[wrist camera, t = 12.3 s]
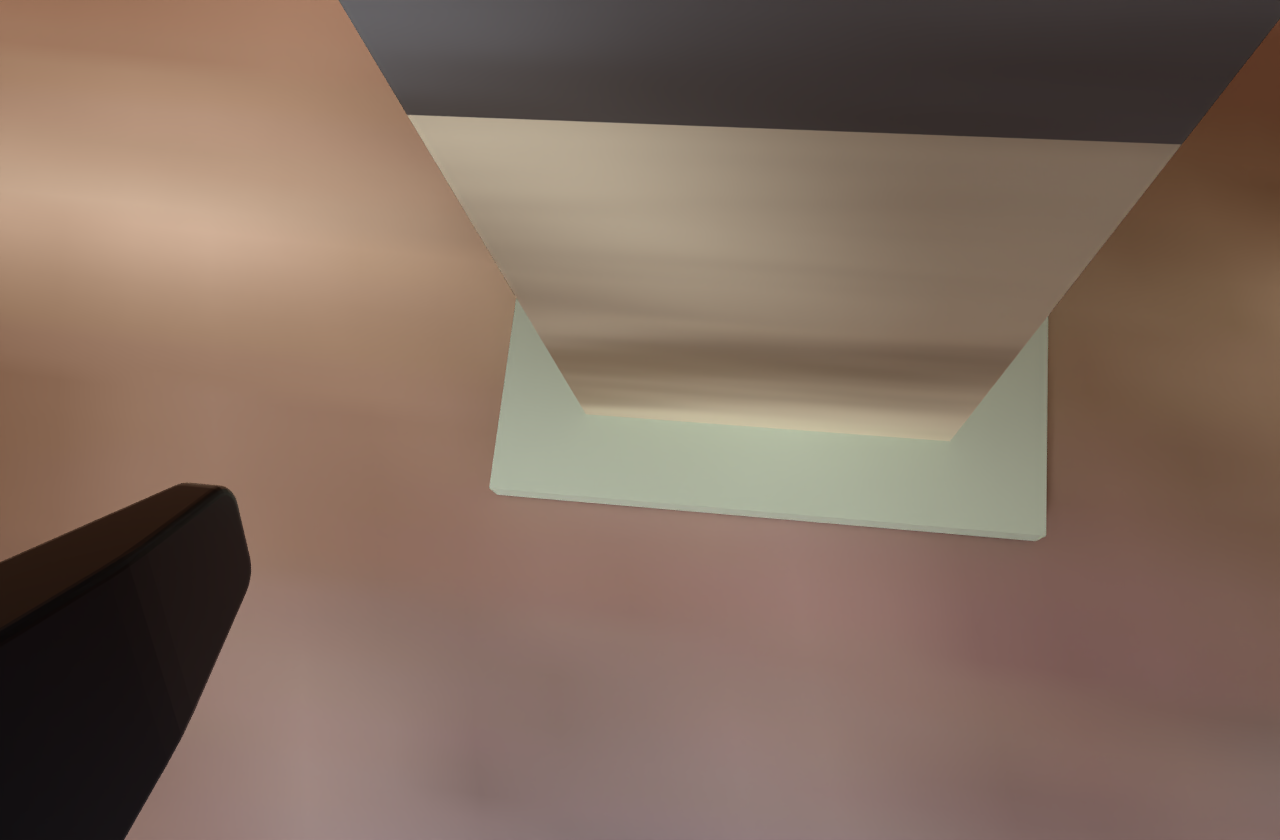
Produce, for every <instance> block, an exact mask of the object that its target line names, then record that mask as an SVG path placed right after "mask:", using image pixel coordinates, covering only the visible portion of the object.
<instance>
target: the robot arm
mask: <svg viewBox="0 0 1280 840" xmlns="http://www.w3.org/2000/svg"><path fill="white" fill-rule="evenodd" d="M250 576H251V561H250V556H249V551H248V547H247V543H246V539H245V534H244V530H243V526H242V521H241V517H240V513H239V508H238V504H237V501H236V498H235V496H234V495H233V493H232V492H231V491H230V490H229V489H228V488H226V487H224V486H219V485H208V484H197V483H181V484H178V485H175V486H173V487H171V488H168V489H166V490H164V491H162V492H159V493H157V494H155V495H152V496H150V497H148V498H146V499H143V500H141V501H139V502H136V503H134V504H132V505H130V506H127V507H125V508H123V509H120V510H118V511H116V512H114V513H111V514H109V515H107V516H104V517H102V518H100V519H98V520H95V521H93V522H91V523H88V524H86V525H84V526H82V527H79V528H77V529H75V530H73V531H70V532H68V533H66V534H63V535H61V536H59V537H57V538H54V539H52V540H50V541H47V542H45V543H43V544H41V545H38V546H36V547H34V548H31V549H29V550H27V551H25V552H22V553H20V554H18V555H15V556H13V557H11V558H9V559H6V560H4V561H2V562H0V840H124V839H125V837H126V835H127V834H128V832H129V830H130V828H131V827H132V825H133V823H134V821H135V820H136V818H137V816H138V814H139V813H140V811H141V809H142V807H143V806H144V804H145V802H146V800H147V799H148V797H149V795H150V793H151V792H152V790H153V788H154V786H155V785H156V783H157V781H158V779H159V778H160V776H161V774H162V772H163V771H164V769H165V767H166V765H167V764H168V762H169V760H170V758H171V756H172V754H173V753H174V751H175V749H176V747H177V745H178V743H179V742H180V740H181V738H182V736H183V734H184V732H185V730H186V728H187V725H188V723H189V721H190V719H191V717H192V715H193V713H194V711H195V708H196V706H197V704H198V701H199V699H200V697H201V695H202V692H203V690H204V688H205V685H206V683H207V681H208V679H209V676H210V674H211V672H212V669H213V667H214V665H215V663H216V660H217V658H218V656H219V653H220V651H221V649H222V647H223V644H224V642H225V640H226V637H227V635H228V633H229V630H230V628H231V626H232V624H233V621H234V619H235V617H236V614H237V612H238V610H239V608H240V605H241V603H242V601H243V598H244V596H245V594H246V591H247V589H248V586H249V582H250Z"/></svg>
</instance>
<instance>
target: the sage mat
mask: <svg viewBox="0 0 1280 840" xmlns="http://www.w3.org/2000/svg"><path fill="white" fill-rule="evenodd" d="M1047 393H1048V316H1047V318H1046V319H1045V320H1044V322H1043V323H1042V324H1041V325H1040V327H1039V328H1038V329H1037V331H1036V332H1035V333H1034V334H1033V336H1032V337H1031V338H1030V339H1029V341H1028V342H1027V343H1026V345H1025V346H1024V347H1023V348H1022V350H1021V351H1020V352H1019V354H1018V355H1017V356H1016V357H1015V359H1014V360H1013V361H1012V363H1011V364H1010V365H1009V366H1008V368H1007V369H1006V370H1005V372H1004V373H1003V374H1002V375H1001V377H1000V378H999V379H998V380H997V382H996V383H995V384H994V386H993V387H992V388H991V389H990V391H989V392H988V393H987V395H986V396H985V397H984V398H983V400H982V401H981V402H980V404H979V405H978V406H977V407H976V409H975V410H974V411H973V413H972V414H971V415H970V416H969V418H968V419H967V420H966V422H965V423H964V424H963V425H962V427H961V428H960V429H959V430H958V432H957V433H956V434H955V436H954V437H953V438H952V439H951V441H938V440H924V439H911V438H897V437H884V436H870V435H857V434H844V433H830V432H817V431H803V430H790V429H776V428H763V427H749V426H736V425H722V424H709V423H696V422H682V421H669V420H655V419H642V418H628V417H615V416H601V415H588V414H586V413H585V412H584V410H583V408H582V407H581V405H580V403H579V402H578V400H577V398H576V397H575V395H574V393H573V392H572V390H571V388H570V387H569V385H568V383H567V382H566V380H565V378H564V377H563V375H562V373H561V372H560V370H559V368H558V367H557V365H556V363H555V362H554V360H553V358H552V357H551V355H550V353H549V351H548V350H547V348H546V346H545V345H544V343H543V341H542V340H541V338H540V336H539V335H538V333H537V331H536V330H535V328H534V326H533V325H532V323H531V321H530V320H529V318H528V316H527V315H526V313H525V311H524V310H523V308H522V306H521V305H520V303H519V301H518V300H517V298H516V303H515V310H514V317H513V324H512V331H511V338H510V345H509V352H508V359H507V366H506V374H505V381H504V388H503V395H502V402H501V409H500V416H499V423H498V430H497V437H496V444H495V451H494V458H493V465H492V472H491V479H490V486H489V488H490V489H491V490H492V491H494V492H495V493H496V494H497V495H507V496H519V497H530V498H542V499H554V500H565V501H577V502H588V503H600V504H612V505H623V506H635V507H646V508H658V509H669V510H681V511H693V512H704V513H716V514H727V515H739V516H750V517H762V518H774V519H785V520H797V521H808V522H820V523H831V524H843V525H855V526H866V527H878V528H889V529H901V530H912V531H924V532H936V533H947V534H959V535H970V536H982V537H994V538H1005V539H1017V540H1028V541H1037V540H1039V539H1041V538H1043V537H1045V536H1046V493H1047Z"/></svg>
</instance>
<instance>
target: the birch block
mask: <svg viewBox="0 0 1280 840" xmlns="http://www.w3.org/2000/svg"><path fill="white" fill-rule="evenodd" d="M339 1H340V3H341V5H342V6H343V8H344V10H345V11H346V13H347V15H348V17H349V18H350V20H351V22H352V23H353V25H354V27H355V28H356V30H357V32H358V33H359V35H360V37H361V38H362V40H363V42H364V43H365V45H366V47H367V48H368V50H369V52H370V53H371V55H372V57H373V58H374V60H375V62H376V63H377V65H378V67H379V68H380V70H381V72H382V73H383V75H384V77H385V78H386V80H387V82H388V84H389V85H390V87H391V89H392V90H393V92H394V94H395V95H396V97H397V99H398V100H399V102H400V104H401V105H402V107H403V109H404V110H405V112H406V114H407V115H408V117H409V119H410V120H411V122H412V124H413V125H414V127H415V129H416V130H417V132H418V134H419V135H420V137H421V139H422V140H423V142H424V144H425V145H426V147H427V149H428V151H429V152H430V154H431V156H432V157H433V159H434V161H435V162H436V164H437V166H438V167H439V169H440V171H441V172H442V174H443V176H444V177H445V179H446V181H447V182H448V184H449V186H450V187H451V189H452V191H453V192H454V194H455V196H456V197H457V199H458V201H459V202H460V204H461V206H462V207H463V209H464V211H465V212H466V214H467V216H468V217H469V219H470V221H471V223H472V224H473V226H474V228H475V229H476V231H477V233H478V234H479V236H480V238H481V239H482V241H483V243H484V244H485V246H486V248H487V249H488V251H489V253H490V254H491V256H492V258H493V259H494V261H495V263H496V264H497V266H498V268H499V269H500V271H501V273H502V274H503V276H504V278H505V279H506V281H507V283H508V284H509V286H510V288H511V290H512V291H513V293H514V295H515V296H516V298H517V300H518V301H519V303H520V305H521V306H522V308H523V310H524V311H525V313H526V315H527V316H528V318H529V320H530V321H531V323H532V325H533V326H534V328H535V330H536V331H537V333H538V335H539V336H540V338H541V340H542V341H543V343H544V345H545V346H546V348H547V350H548V351H549V353H550V355H551V357H552V358H553V360H554V362H555V363H556V365H557V367H558V368H559V370H560V372H561V373H562V375H563V377H564V378H565V380H566V382H567V383H568V385H569V387H570V388H571V390H572V392H573V393H574V395H575V397H576V398H577V400H578V402H579V403H580V405H581V407H582V408H583V410H584V412H585V413H586V414H588V415H601V416H615V417H628V418H642V419H655V420H669V421H682V422H696V423H709V424H722V425H736V426H749V427H763V428H776V429H790V430H803V431H817V432H830V433H844V434H857V435H870V436H884V437H897V438H911V439H924V440H938V441H951V439H952V438H953V437H954V436H955V434H956V433H957V432H958V430H959V429H960V428H961V427H962V425H963V424H964V423H965V422H966V420H967V419H968V418H969V416H970V415H971V414H972V413H973V411H974V410H975V409H976V407H977V406H978V405H979V404H980V402H981V401H982V400H983V398H984V397H985V396H986V395H987V393H988V392H989V391H990V389H991V388H992V387H993V386H994V384H995V383H996V382H997V380H998V379H999V378H1000V377H1001V375H1002V374H1003V373H1004V372H1005V370H1006V369H1007V368H1008V366H1009V365H1010V364H1011V363H1012V361H1013V360H1014V359H1015V357H1016V356H1017V355H1018V354H1019V352H1020V351H1021V350H1022V348H1023V347H1024V346H1025V345H1026V343H1027V342H1028V341H1029V339H1030V338H1031V337H1032V336H1033V334H1034V333H1035V332H1036V331H1037V329H1038V328H1039V327H1040V325H1041V324H1042V323H1043V322H1044V320H1045V319H1046V318H1047V316H1048V315H1049V314H1050V313H1051V311H1052V310H1053V309H1054V307H1055V306H1056V305H1057V304H1058V302H1059V301H1060V300H1061V298H1062V297H1063V296H1064V295H1065V293H1066V292H1067V291H1068V290H1069V288H1070V287H1071V286H1072V284H1073V283H1074V282H1075V281H1076V279H1077V278H1078V277H1079V275H1080V274H1081V273H1082V272H1083V270H1084V269H1085V268H1086V266H1087V265H1088V264H1089V263H1090V261H1091V260H1092V259H1093V257H1094V256H1095V255H1096V254H1097V252H1098V251H1099V250H1100V248H1101V247H1102V246H1103V245H1104V243H1105V242H1106V241H1107V240H1108V238H1109V237H1110V236H1111V234H1112V233H1113V232H1114V231H1115V229H1116V228H1117V227H1118V225H1119V224H1120V223H1121V222H1122V220H1123V219H1124V218H1125V216H1126V215H1127V214H1128V213H1129V211H1130V210H1131V209H1132V207H1133V206H1134V205H1135V204H1136V202H1137V201H1138V200H1139V199H1140V197H1141V196H1142V195H1143V193H1144V192H1145V191H1146V190H1147V188H1148V187H1149V186H1150V184H1151V183H1152V182H1153V181H1154V179H1155V178H1156V177H1157V175H1158V174H1159V173H1160V172H1161V170H1162V169H1163V168H1164V166H1165V165H1166V164H1167V163H1168V161H1169V160H1170V159H1171V158H1172V156H1173V155H1174V154H1175V152H1176V151H1177V150H1178V149H1179V147H1180V146H1181V145H1182V143H1183V142H1184V141H1185V140H1186V138H1187V137H1188V136H1189V134H1190V133H1191V132H1192V131H1193V129H1194V128H1195V127H1196V125H1197V124H1198V123H1199V122H1200V120H1201V119H1202V118H1203V116H1204V115H1205V114H1206V113H1207V111H1208V110H1209V109H1210V108H1211V106H1212V105H1213V104H1214V102H1215V101H1216V100H1217V99H1218V97H1219V96H1220V95H1221V93H1222V92H1223V91H1224V90H1225V88H1226V87H1227V86H1228V84H1229V83H1230V82H1231V81H1232V79H1233V78H1234V77H1235V75H1236V74H1237V73H1238V72H1239V70H1240V69H1241V68H1242V67H1243V65H1244V64H1245V63H1246V61H1247V60H1248V59H1249V58H1250V56H1251V55H1252V54H1253V52H1254V51H1255V50H1256V49H1257V47H1258V46H1259V45H1260V43H1261V42H1262V41H1263V40H1264V38H1265V37H1266V36H1267V34H1268V33H1269V32H1270V31H1271V29H1272V28H1273V27H1274V26H1275V24H1276V23H1277V22H1278V20H1279V19H1280V0H339Z"/></svg>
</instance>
